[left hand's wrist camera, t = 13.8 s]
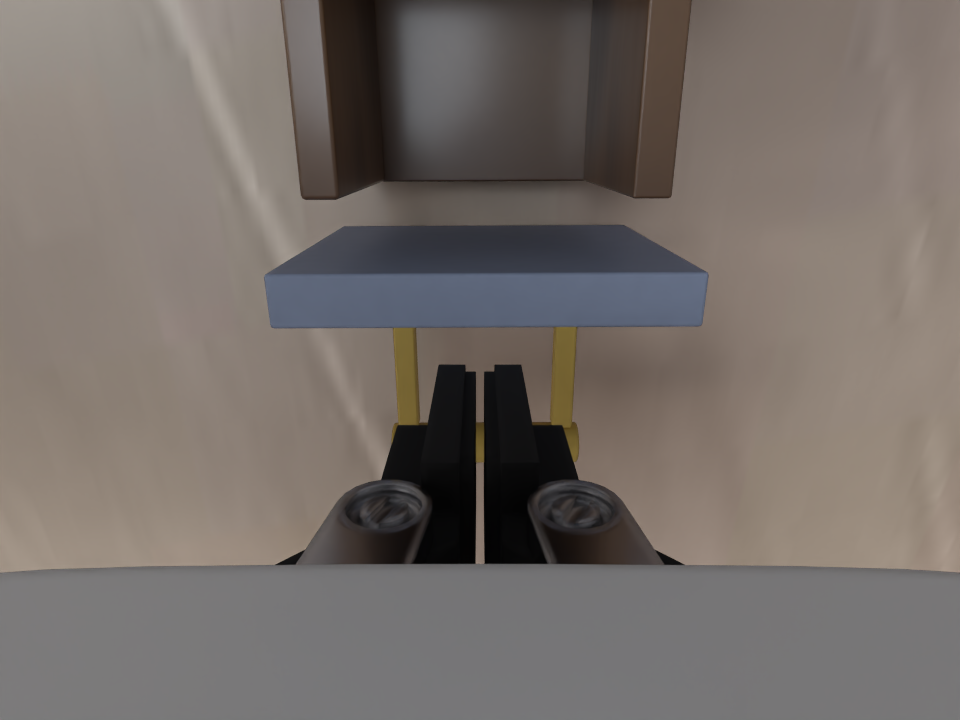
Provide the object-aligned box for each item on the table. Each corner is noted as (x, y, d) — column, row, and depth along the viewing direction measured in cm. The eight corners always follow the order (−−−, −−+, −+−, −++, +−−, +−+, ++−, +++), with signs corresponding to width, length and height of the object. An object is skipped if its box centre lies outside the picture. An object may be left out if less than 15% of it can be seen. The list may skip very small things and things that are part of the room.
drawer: (610, 409, 22) (675, 541, 15) (357, 410, 22) (298, 542, 15) (676, -421, 14) (876, -996, 7) (288, -418, 14) (93, -991, 7)
